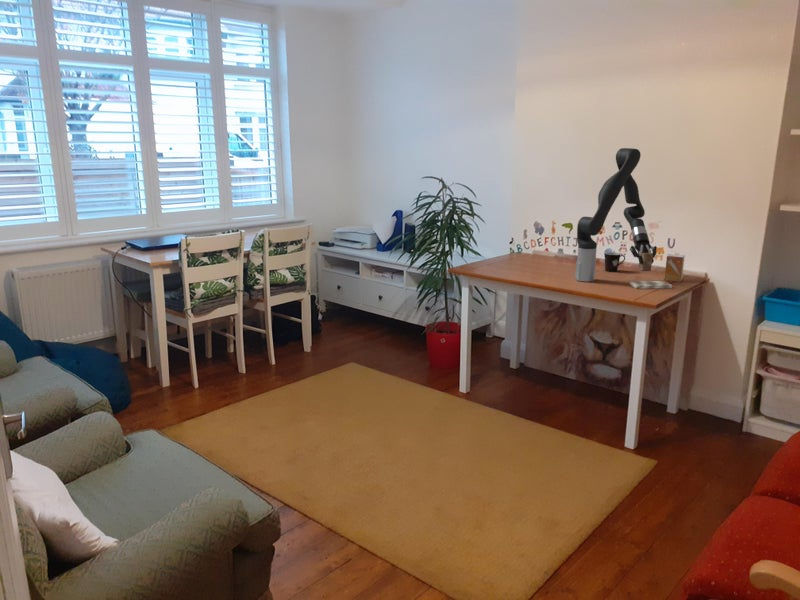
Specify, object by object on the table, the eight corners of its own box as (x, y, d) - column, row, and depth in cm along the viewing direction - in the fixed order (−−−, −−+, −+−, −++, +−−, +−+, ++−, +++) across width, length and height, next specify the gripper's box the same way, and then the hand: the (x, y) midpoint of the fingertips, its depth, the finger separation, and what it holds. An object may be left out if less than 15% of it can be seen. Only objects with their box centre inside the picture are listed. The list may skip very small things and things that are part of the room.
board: (636, 288, 308) (636, 285, 308) (628, 284, 318) (628, 281, 318) (672, 288, 308) (672, 285, 308) (663, 283, 318) (663, 280, 318)
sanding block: (642, 271, 321) (644, 254, 319) (638, 269, 326) (640, 252, 324) (650, 271, 321) (652, 254, 319) (646, 269, 326) (648, 252, 324)
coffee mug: (603, 272, 347) (605, 254, 345) (602, 269, 355) (603, 251, 353) (625, 273, 345) (627, 255, 342) (624, 269, 353) (625, 252, 350)
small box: (664, 280, 326) (666, 255, 323) (665, 277, 332) (668, 253, 328) (680, 281, 322) (683, 257, 319) (682, 279, 328) (684, 255, 324)
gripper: (629, 232, 326) (635, 258, 317) (656, 232, 326) (663, 259, 317) (624, 240, 332) (630, 267, 323) (650, 241, 333) (657, 267, 324)
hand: (646, 263), depth 320 cm, fingers closed on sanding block, 4 cm apart
